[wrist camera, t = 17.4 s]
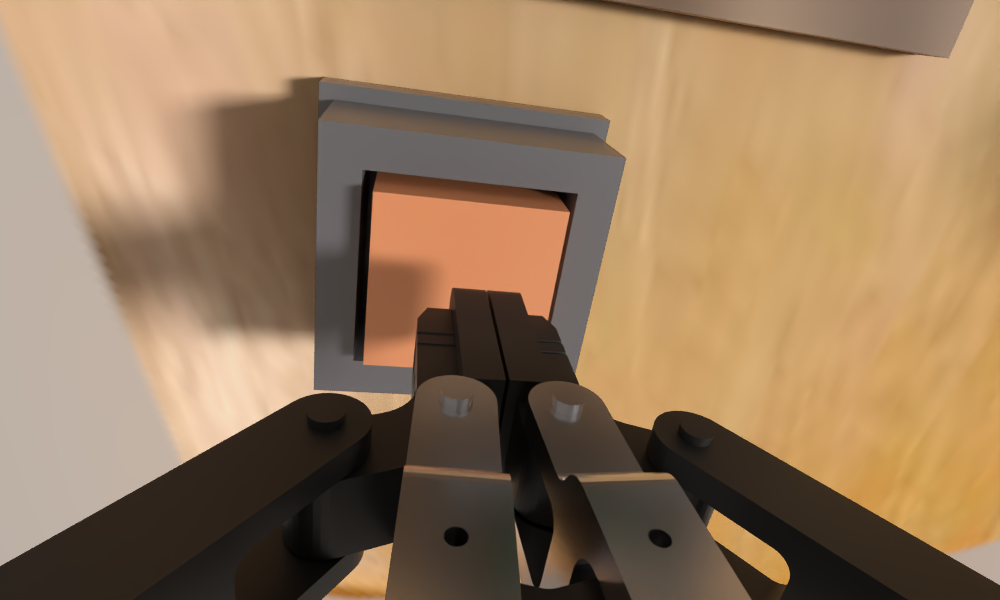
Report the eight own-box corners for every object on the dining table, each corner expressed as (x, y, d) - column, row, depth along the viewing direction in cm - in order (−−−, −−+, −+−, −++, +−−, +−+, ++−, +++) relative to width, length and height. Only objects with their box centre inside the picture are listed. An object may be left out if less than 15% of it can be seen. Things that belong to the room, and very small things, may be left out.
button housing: (600, 114, 18) (646, 143, 14) (551, 344, 21) (578, 413, 18) (324, 77, 17) (298, 98, 13) (319, 329, 20) (298, 400, 16)
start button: (545, 178, 17) (569, 212, 14) (519, 321, 19) (536, 374, 16) (379, 159, 16) (372, 191, 13) (370, 310, 18) (363, 364, 15)
